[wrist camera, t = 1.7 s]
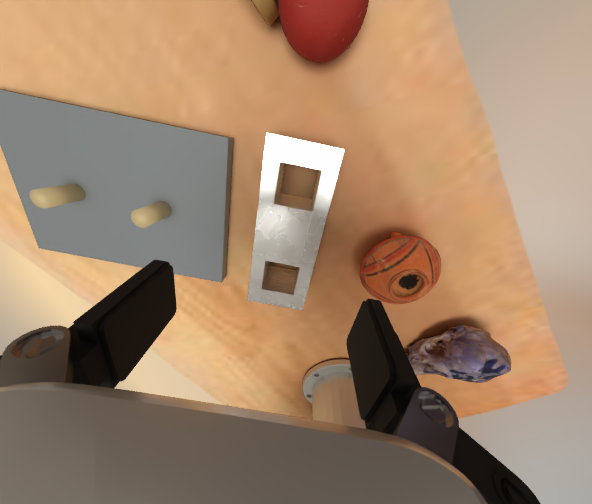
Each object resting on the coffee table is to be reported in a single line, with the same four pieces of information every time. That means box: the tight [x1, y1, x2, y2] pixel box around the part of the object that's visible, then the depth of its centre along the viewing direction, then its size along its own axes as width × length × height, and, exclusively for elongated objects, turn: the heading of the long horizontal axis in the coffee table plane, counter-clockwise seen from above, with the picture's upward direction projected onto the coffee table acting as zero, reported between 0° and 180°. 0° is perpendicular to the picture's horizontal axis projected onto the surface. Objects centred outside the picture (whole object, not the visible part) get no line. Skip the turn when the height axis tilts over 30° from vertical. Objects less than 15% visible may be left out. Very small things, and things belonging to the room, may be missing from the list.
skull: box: [407, 325, 511, 383], centre depth 28 cm, size 12×8×6 cm, turn 118°
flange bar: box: [247, 133, 345, 310], centre depth 22 cm, size 16×6×5 cm, turn 169°
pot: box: [360, 232, 441, 304], centre depth 23 cm, size 8×8×7 cm
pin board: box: [0, 89, 233, 283], centre depth 22 cm, size 16×22×5 cm
